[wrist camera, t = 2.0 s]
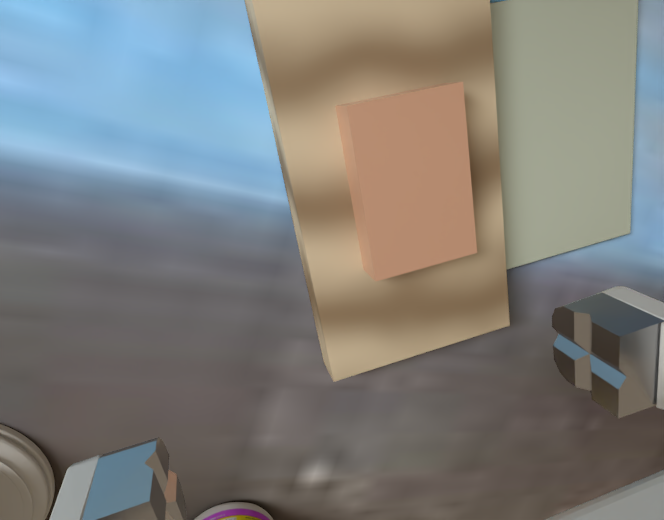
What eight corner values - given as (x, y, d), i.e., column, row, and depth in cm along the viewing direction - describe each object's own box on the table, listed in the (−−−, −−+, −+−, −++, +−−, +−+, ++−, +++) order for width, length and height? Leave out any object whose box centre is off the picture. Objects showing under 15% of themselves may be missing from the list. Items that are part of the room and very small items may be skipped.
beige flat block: (240, -20, 24) (244, -33, 22) (461, -54, 26) (485, -68, 24) (323, 362, 31) (333, 381, 29) (489, 310, 34) (509, 325, 32)
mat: (465, 8, 27) (471, 6, 27) (630, -21, 29) (638, -23, 29) (485, 271, 33) (491, 274, 32) (623, 230, 35) (630, 233, 34)
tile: (335, 105, 24) (346, 105, 23) (443, 83, 26) (463, 81, 24) (363, 269, 28) (375, 281, 26) (459, 243, 29) (477, 252, 27)
